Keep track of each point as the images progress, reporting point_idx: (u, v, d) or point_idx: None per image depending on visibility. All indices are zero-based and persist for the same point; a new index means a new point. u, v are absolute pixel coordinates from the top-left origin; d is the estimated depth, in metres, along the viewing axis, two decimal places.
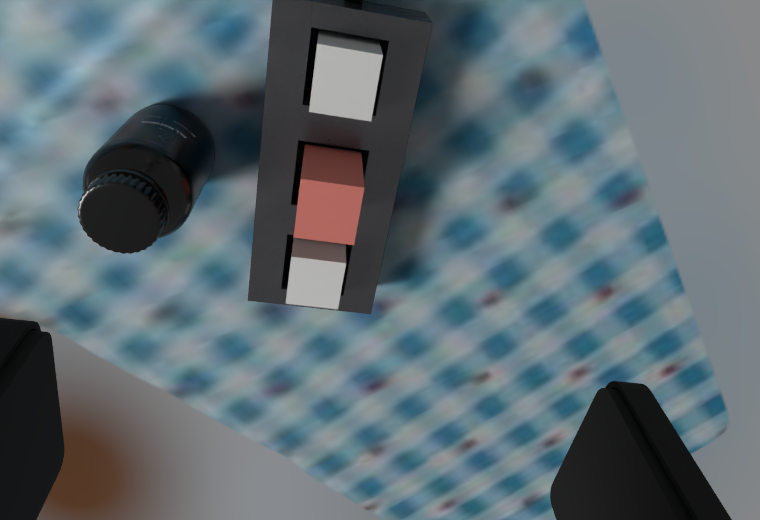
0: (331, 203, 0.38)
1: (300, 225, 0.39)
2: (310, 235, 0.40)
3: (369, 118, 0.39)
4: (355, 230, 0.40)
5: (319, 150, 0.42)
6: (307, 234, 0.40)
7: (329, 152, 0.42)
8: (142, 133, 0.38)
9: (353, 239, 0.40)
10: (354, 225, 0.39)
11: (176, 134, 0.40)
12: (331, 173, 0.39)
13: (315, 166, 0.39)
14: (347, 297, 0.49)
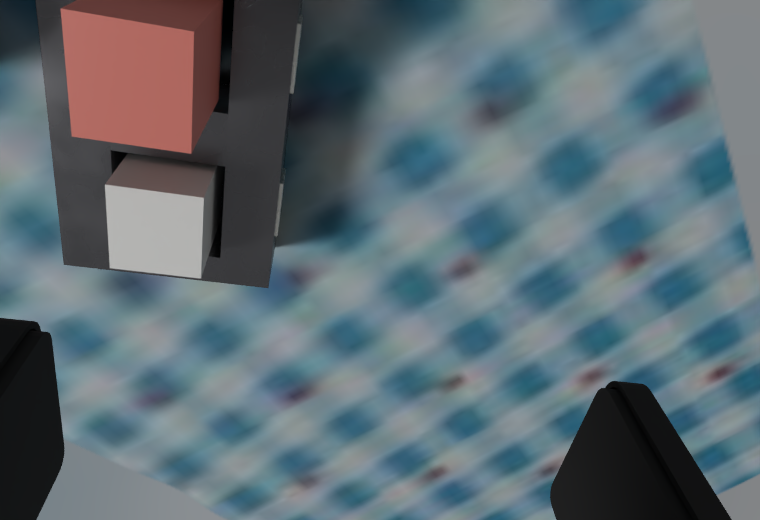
0: (132, 64, 0.20)
1: (80, 111, 0.20)
2: (104, 132, 0.21)
3: None
4: (189, 123, 0.21)
5: None
6: (97, 130, 0.21)
7: None
8: None
9: (188, 142, 0.21)
10: (186, 113, 0.21)
11: None
12: (137, 10, 0.20)
13: (110, 0, 0.21)
14: (227, 260, 0.30)
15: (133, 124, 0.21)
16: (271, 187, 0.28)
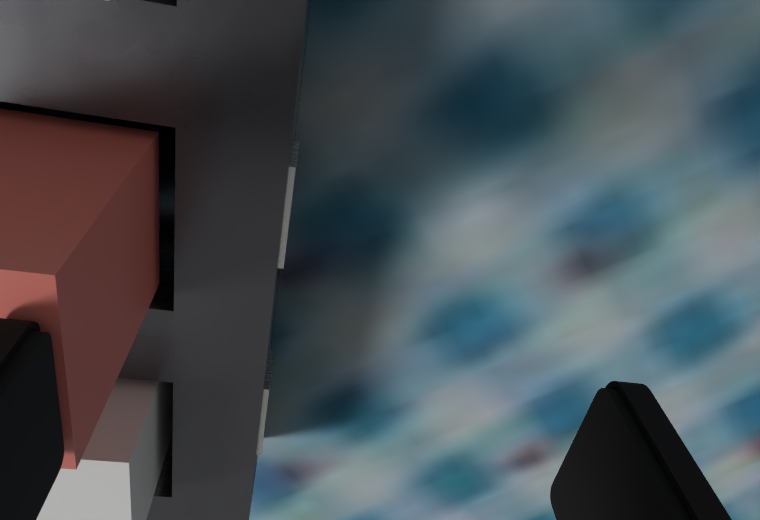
0: None
1: None
2: None
3: None
4: (66, 425, 0.10)
5: (2, 123, 0.13)
6: None
7: (34, 130, 0.13)
8: None
9: (68, 452, 0.11)
10: None
11: None
12: None
13: None
14: (183, 500, 0.20)
15: None
16: (248, 407, 0.18)
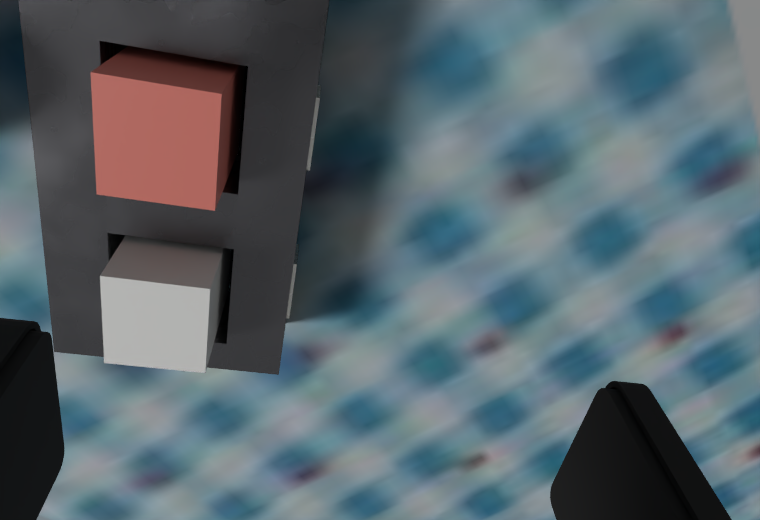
0: (159, 125, 0.20)
1: (106, 170, 0.20)
2: (129, 190, 0.21)
3: None
4: (214, 181, 0.21)
5: None
6: (122, 188, 0.21)
7: None
8: None
9: (212, 199, 0.21)
10: (211, 171, 0.21)
11: None
12: (164, 71, 0.20)
13: (138, 60, 0.21)
14: (234, 346, 0.28)
15: (158, 182, 0.21)
16: (284, 270, 0.26)
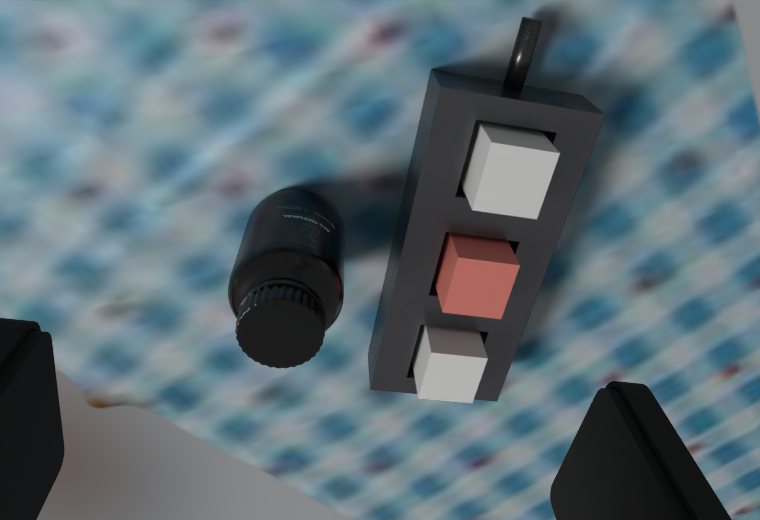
0: (484, 280, 0.38)
1: (451, 301, 0.39)
2: (459, 310, 0.39)
3: (535, 216, 0.36)
4: (504, 305, 0.39)
5: None
6: (456, 309, 0.39)
7: None
8: (292, 232, 0.35)
9: (501, 313, 0.40)
10: (504, 300, 0.39)
11: (321, 229, 0.37)
12: (482, 249, 0.39)
13: (464, 241, 0.39)
14: None
15: (475, 306, 0.39)
16: (514, 343, 0.44)
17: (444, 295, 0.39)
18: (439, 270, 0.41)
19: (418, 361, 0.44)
